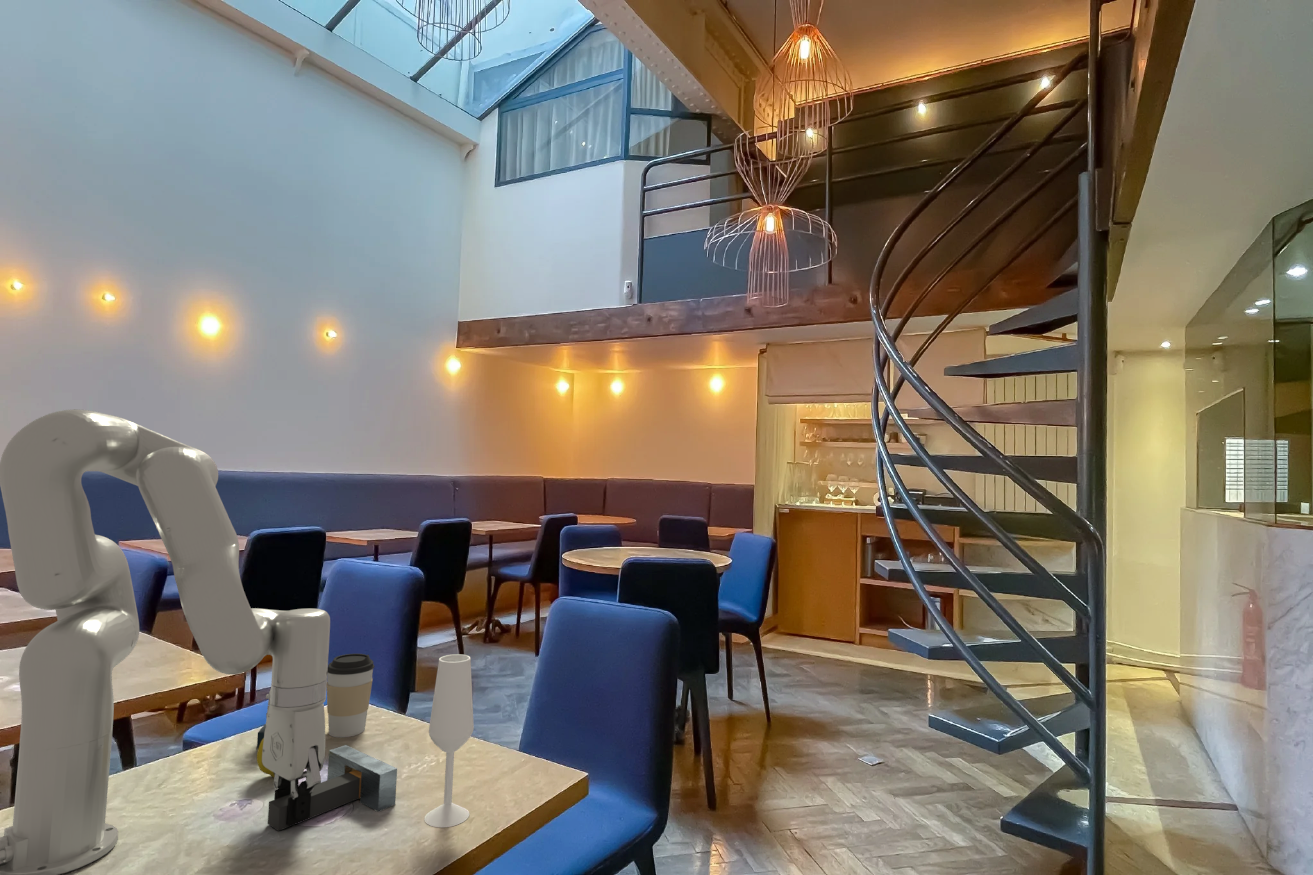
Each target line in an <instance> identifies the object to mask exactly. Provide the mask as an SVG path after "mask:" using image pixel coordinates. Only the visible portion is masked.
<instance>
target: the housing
mask: <svg viewBox="0 0 1313 875" xmlns="http://www.w3.org/2000/svg"><path fill="white" fill-rule="evenodd" d="M327 762H328V763H327V779H326V781H327V780H330V779H333V778H335V777H338V776H341V775H343V774H346V773H349V772H352V771H354V770H357V771H359V772H362V774H361V792H360V798H359V803H360V804H362V805H365V806H366V807H368V808H370V809H372V810H374V811H376V812H377V813H378V812H381V811H383V810H386V809H389V808H390V807H393V806H395V805H396V801H397V800H396V797H397V780H398V779H397V778H398V768H397V767H395V766H393V765H390V764H388V763H386V762H384V761H382V760H379V759H377V758H376V757H373V756H371V755H369V754H366V753H364V752H362V751H360V750H358V749H356V748H354V747H351V746H349V745H348V744H344V745H342V746H339V747H335V748H332V749H329V750H328V761H327Z"/></svg>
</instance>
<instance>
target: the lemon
mask: <svg viewBox="0 0 1313 875" xmlns="http://www.w3.org/2000/svg"><path fill="white" fill-rule="evenodd" d="M263 742H264V738H263V740H262V741H261V743H260V746H259V748H258V750H257V753H256V763H257V766H258V768H259V770H260V771H261V772H262V773H264V774H266V775H269V776H270V777H272V778H274V776H275V775H274V773H273V772H272V771H271V770H269V769H267V768H266V767H265V766H264V765H263V763H262V752H263Z"/></svg>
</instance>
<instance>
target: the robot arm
mask: <svg viewBox="0 0 1313 875" xmlns="http://www.w3.org/2000/svg"><path fill="white" fill-rule="evenodd" d="M86 472H100V473H103V474H106V475H109V476H111V477H114V478H117V479H119V480H122V481H124V482H127V483H129V484H132V485H134V486H137V487H138V489H139V492H140V495H141V497H142V499H143V501H144V504H145V506H146V508H147V511H148V512H149V514H150V516H151V518H152V521H153V523H154V525H155V527H156V528H155V529H156V530H157V531H158V535H159V536H160V538H161V540H162V542H163V546H164V548H165V549H166V552H167V554H168V556H169V557H168V558H170V562H171V564H172V570H173V575H174V581H175V584H176V588H177V591H178V596H179V600H180V604H181V607H182V608H181V609H182V611H183V614H184V616H185V620H186V623H187V625H188V627H189V630H190V632H191V634H192V635H193V638H194V641H195V642H196V644H197V646H198V649H199V651H200V653H201V655H202V657H203V658H204V660H205V662H206V663H207V664H208V665H209V666H210V667H211V668H212V669H214V670H215V671H216V672H217V673H218V672H219V673H221V674H224V675H239V674H242V673H246V672H248V671H250V670H252V669H254V667H256V666H257V665H258V664H259V663H260V662H261V661H262V660H263V658H264V657H266V656H267V655H268V656H269V655H270V656H271V657H272V666H271V685H270V690H271V697H270V705H268V706H269V710H268V714H267V719H266V721H265V724H266V726H265V733H264V742H263V752H262V763H263V765H264V766H265V767H266V768H267V769H269V770H271V771H272V772H273V773H274V775H275V776H274V777H273V787H274V797H273V798H274V799H273V800H275V799H278V798H281V797H284V796H287V795H289V794H291V797H289V798H288V804H287V821H286V824H287V825H288V826H289V827H292V826H295V825H296V824H299V823H302V822H304V821H307V820H309V819H310V818H309V817H310V805H311V793H312V792H313V788H314V786H316V785H318V784H320V783H322V776H321V771H322V770H323V768H324V763H325V758H326V757H325V753H326V717H325V716H326V715H325V704H324V703H326V702H327V670H328V665H329V653H330V652H329V650H330V635H331V633H330V630H331V617H330V614H329V613H328V611H326V610H324V609H320V608H297V609H290V610H279V609H268V608H259V607H257V608H256V607H255V608H253V607H252V608H251V606H250V603H249V600H248V598H247V596H246V592H245V591H244V587H243V583H242V579H241V576H240V575H241V574H240V568H239V566H240V564H239V562H240V561H239V559H240V543H239V538H238V535H237V532H236V530H235V527H234V526H233V524H232V521H231V519H230V518H229V515H228V512H227V509H226V508H225V506H224V504H223V501H222V498H221V496H220V494H219V492H218V489H217V488H216V486H217V483H218V482H219V469H218V466H217V464H216V462H215V461H214V459H213V458H212V457H211V456H210V455H209V454H207V453H206V452H204V451H202V450H200V449H198V448H196V447H193V446H190V445H187V444H185V443H183V442H180V441H177V440H176V439H173V438H170V437H168V436H165V435H163V434H162V433H159V432H157V431H154V430H151V429H149V428H147V427H145V426H142V425H140V424H137V423H135V422H133V421H130V420H128V419H125V418H123V417H120V416H116V415H112V414H107V413H103V412H99V411H94V410H87V409H65V410H64V409H63V410H58V411H55V412H54V411H53V412H51V413H48V414H45V415H43V416H40V417H38V418H36V419H35V420H32V421H31V422H29V423H27V424H26V425H25V426H24V427H22V428H21V429H19V431H18V432H16V433H15V434H14V435H13V437H12V438H11V439H10V440H9V442H8V443H7V444H6V446H5V448H4V450H3V452H2V455H1V458H0V491H1V496H2V497H1V498H2V502H3V506H4V511H5V516H6V524H7V532H8V538H9V543H10V549H11V550H10V551H11V555H12V560H13V566H14V573H15V579H16V580H15V581H16V585H17V587H18V588H17V589H18V591H19V595H20V596H21V597H22V599H23V600H25V602H26V603H27V604H29V605H30V606H31V607H33V608H37V609H40V610H45V611H47V610H48V611H55V614H56V619H57V621H55V622H53V623H51V624H49V625H48V626H45V627H44V628H43V629H42V630H40V631H39V632H38V633H36V635H35V636H34V637H33V638H32V639H30V641H29V643H27V645H26V647H25V649H24V651H23V652H22V655H21V656H20V657H21V658H20V662H19V666H18V667H19V668H18V678H19V682H18V683H19V688H20V698H21V716H20V717H21V718H20V719H21V721H20V722H21V723H20V735H19V748H18V749H19V750H18V760H17V761H18V762H17V773H16V783H15V784H16V785H15V796H14V807H13V818H12V825H11V826H9V827H6V828H4V832H3V836H0V875H62V874H65V873H69V872H72V871H74V870H78V869H80V868H83V867H84V866H87V865H89V864H91V863H92V862H95V861H97V860H99V859H100V858H102V857H103V856H105V855H106V854H108V853H109V852H110V851H111V850H112V849H114V847H115V846H116V844H117V843H118V840H119V829H118V828H117V827H116V826H114V825H112V824H109V823H107V822H106V816H107V815H106V814H107V806H108V805H107V804H108V792H109V791H108V790H109V778H110V765H111V753H112V740H113V730H114V729H113V727H114V726H113V725H114V714H115V713H114V708H115V703H114V700H115V699H114V689H113V670H114V668H115V667H117V666H118V665H119V664H120V663H121V662H122V661H124V660H125V659H126V658H127V657H129V655H130V654H131V653H132V652H133V650H134V649H135V647H136V646H137V644H138V640H139V638H140V620H139V614H138V608H137V604H136V597H135V592H134V587H133V581H132V576H131V572H130V571H131V570H130V567H129V563H128V559H127V556H126V555H125V553H124V551H123V550H122V548H121V547H120V545H118V544H117V543H116V542H115V541H113V540H112V539H111V538H110V539H109V538H108V537H105V536H103V535H99V534H96V533H95V530H94V525H93V521H92V513H91V507H90V503H89V500H88V498H87V494H86V493H85V491H84V488H83V484H82V477H83V474H84V473H86ZM301 779H302V781H301V782H300V783H299V781H300V780H301ZM303 779H304V780H303ZM308 818H309V819H308Z"/></svg>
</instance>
